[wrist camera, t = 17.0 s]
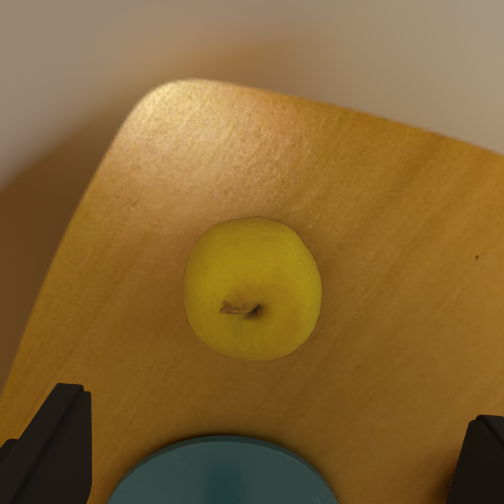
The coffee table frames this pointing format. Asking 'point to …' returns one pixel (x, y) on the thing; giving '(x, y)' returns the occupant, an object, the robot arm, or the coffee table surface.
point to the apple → (252, 289)
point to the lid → (222, 475)
